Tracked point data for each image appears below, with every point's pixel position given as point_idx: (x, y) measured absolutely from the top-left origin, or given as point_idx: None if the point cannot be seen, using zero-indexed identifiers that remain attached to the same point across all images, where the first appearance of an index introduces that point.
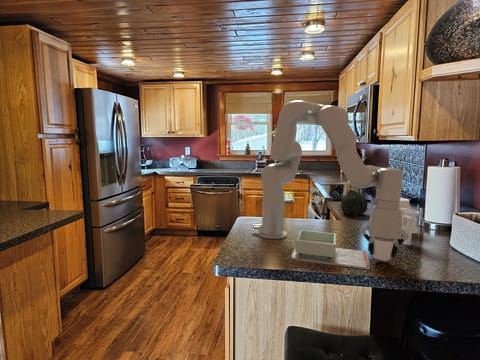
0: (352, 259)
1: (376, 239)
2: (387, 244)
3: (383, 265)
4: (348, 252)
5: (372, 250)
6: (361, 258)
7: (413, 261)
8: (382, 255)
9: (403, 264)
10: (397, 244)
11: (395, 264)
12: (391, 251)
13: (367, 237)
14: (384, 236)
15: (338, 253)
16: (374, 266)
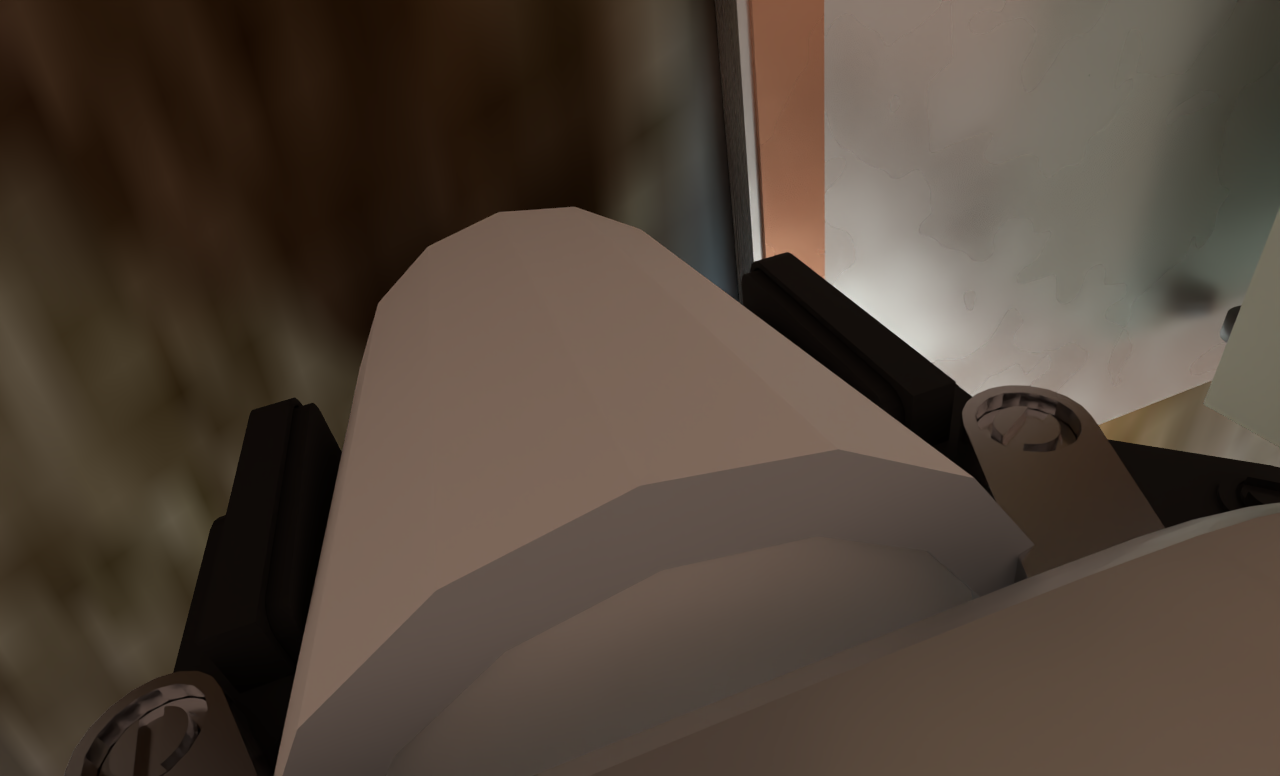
0: (1019, 42)
1: (975, 496)
2: (476, 474)
3: (452, 187)
4: (1015, 347)
5: (797, 308)
6: (862, 199)
7: (34, 707)
8: (531, 245)
9: (123, 480)
10: (122, 766)
11: (258, 386)
12: (336, 481)
13: (1201, 504)
14: (796, 770)
15: (1165, 210)
16: (609, 7)
